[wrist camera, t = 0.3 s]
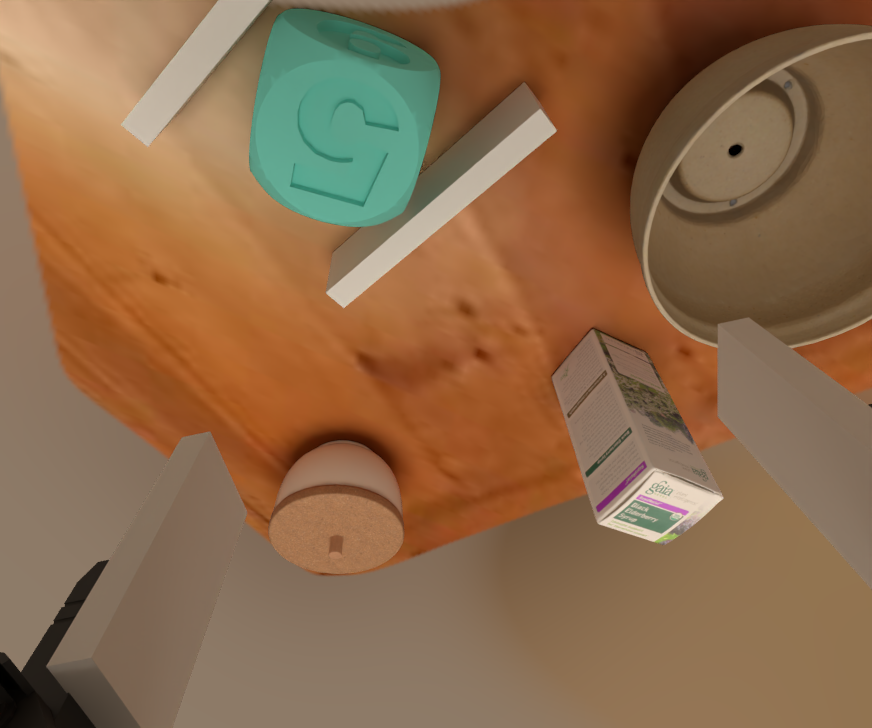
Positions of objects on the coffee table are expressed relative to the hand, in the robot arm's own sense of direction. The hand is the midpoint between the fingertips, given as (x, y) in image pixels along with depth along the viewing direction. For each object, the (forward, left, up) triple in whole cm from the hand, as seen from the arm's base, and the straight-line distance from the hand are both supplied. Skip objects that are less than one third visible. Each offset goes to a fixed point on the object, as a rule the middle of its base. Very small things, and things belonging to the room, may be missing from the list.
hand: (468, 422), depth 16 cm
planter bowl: (-12, +13, -26) cm, 31 cm away
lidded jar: (+26, +17, -26) cm, 40 cm away
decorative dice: (+3, -4, -26) cm, 26 cm away
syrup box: (+3, +23, -25) cm, 35 cm away
